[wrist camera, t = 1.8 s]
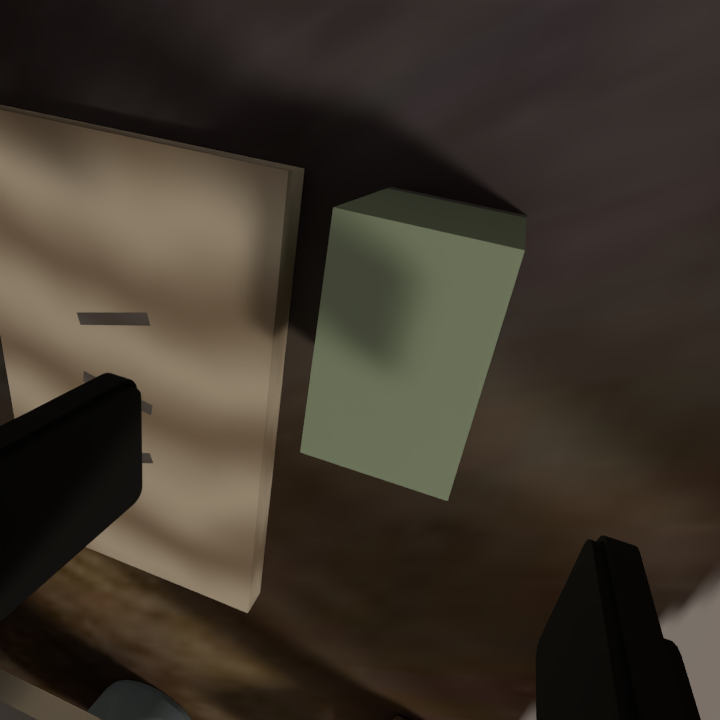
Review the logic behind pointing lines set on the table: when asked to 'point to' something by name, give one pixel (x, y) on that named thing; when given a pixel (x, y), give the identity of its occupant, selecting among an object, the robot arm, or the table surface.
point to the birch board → (157, 324)
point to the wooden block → (399, 718)
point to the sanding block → (408, 333)
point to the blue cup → (136, 703)
